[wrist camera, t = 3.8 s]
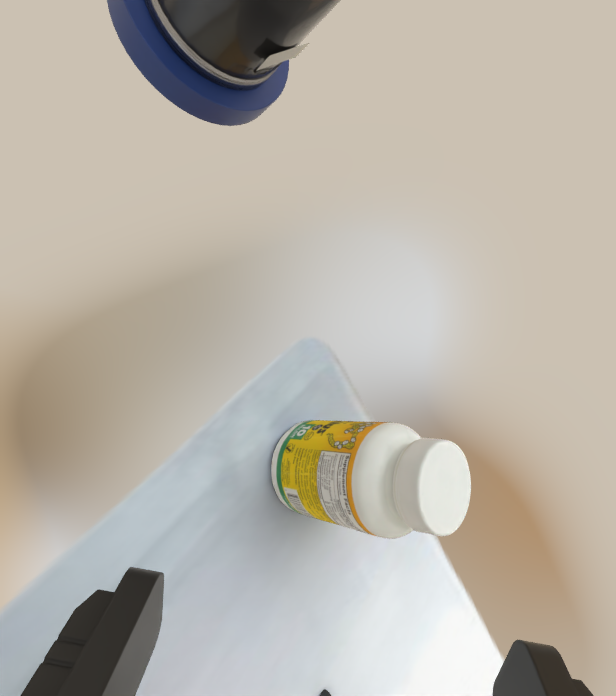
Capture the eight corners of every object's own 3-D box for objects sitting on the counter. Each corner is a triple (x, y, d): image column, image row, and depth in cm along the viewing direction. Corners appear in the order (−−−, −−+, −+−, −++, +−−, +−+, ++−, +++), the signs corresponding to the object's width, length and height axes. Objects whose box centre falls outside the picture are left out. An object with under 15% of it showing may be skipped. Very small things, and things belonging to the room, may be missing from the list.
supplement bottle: (264, 516, 24) (406, 564, 16) (271, 417, 25) (407, 421, 17) (336, 508, 27) (481, 545, 20) (339, 421, 28) (478, 426, 21)
